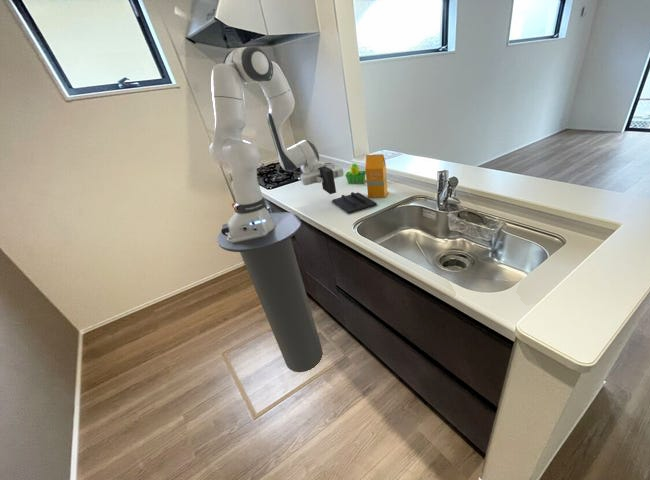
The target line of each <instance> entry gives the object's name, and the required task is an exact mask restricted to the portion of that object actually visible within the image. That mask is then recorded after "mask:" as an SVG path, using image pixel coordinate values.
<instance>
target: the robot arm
mask: <svg viewBox="0 0 650 480" xmlns="http://www.w3.org/2000/svg"><path fill="white" fill-rule="evenodd" d="M254 83H255V84H258V86H259V87H261V90H262V92H263V94H264V96H265V98H266V101H267V104H268V112H267V114H266V120H267V124H268V128H269V131H270V134H271V135H270V136H271V138H272V140H273V144H274V147H275V151H276V154H277V157H278V162H279V165H280V168H282V169H283V170H284V171H285V172H288V173H293V172H295V171H296V170H298V169H299V168H300V170H301V174H300V175H299V176H298V177H297V179H298V181H301V183H302V185H303V186H309V185H312V184H314V185H315V184H322V183H323V182H325V178H324V177H322V178H321V176H320V175H321V174H320V171H319V167H323V166H326V167H327V168H329V169H331V170H333V176H334V179H338V178H341V177H344V175H345V174H344V173H345V172H344V168H343V167H342V166H340V165H338V164H335V163H334V162H320V154H319V151H318V149H317V147H316V146H315V144H314V143H313V142H311V141H310V140H307V139H303V140H301V141H299V142H298V143H296V144H293V145H292V146H290V147H288V148H286V144H285V141H284V138H283V135H282V128H283V125H284V123H285V122H286V121H287V120H288V118H290V116H291V115H292V113H293V112H294V109H295V105H296V102H295V98H294V94H293V91H292V89H291V87H290V84H289V81H288V80H287V77H286V76H285V74H284V73H283V70H282V69H281V68H280V66H279V64H278V63H276V62H275V61H272V60H271V59H270V58H269V56H268V54H267V53H266V52H265V51H264V50H263V49H262V48H260V47H258V46H252V45H249V46H246V47H245V46H244V47H239V48H236V49H234V50H231V51H229V52H228V53H227V54H226V55H225V56H224V59H223V62H222V63H217V64H215V65H214V66H213V67H212V70H211V95H212V96H211V97H212V104H213V114H214V127H213V128H214V130H213V137H212V142H211V144H210V145H209V147H208V148H209V149H208V153H209V156H210V158H211V160H212V161H213V162H215V164H218V165H219V166H221V167H224V168H229V169H230V171H231V173H232V174H231V176H232V181H231V183H230V187H231V190H232V192H233V195H234V198H235V201H236V202H234V201H233V202H231V207H232V208H233V209H234V214H233V215H232V216H231V218H229V220H228V221H227V223H224V224H221V231H220V232H222V234H223V235H225V237H226V240H227V241H228V242H230V243H235V242H240V241H244V240H249V239H253V238H258V237H262V236H266V235H267V234H268V232H270V231H271V230H273V229H274V228H275V223H274V222H273V220H272V219H271V217H270V215H269V213H268V212H269V210H268V206H267V202H266V199H265V197H264V196H263V193H262V190H261V187H260V184H259V180H258V166H259V164H260V162H261V153H260V150H259V149H258V147H257V146H256V145H255V144H254V143H252V142H249V141H247V140H244V139H242V134H243V130H244V129H245V127H246V125H247V117H246V116H247V113H246V104H245V93H244V88H245V85H246V84H254ZM225 233H226V234H225Z"/></svg>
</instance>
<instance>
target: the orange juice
mask: <svg viewBox="0 0 650 480" xmlns="http://www.w3.org/2000/svg"><path fill="white" fill-rule="evenodd" d="M364 171H366V175H365V181H366V189H367V198H369V199H377V198H379V199H381V198H386V196H387V195H388V178H387V163H386V159H385V155H384V154H383V153H381V154H380V153H379V154H365V169H364Z"/></svg>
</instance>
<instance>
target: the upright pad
mask: <svg viewBox="0 0 650 480" xmlns="http://www.w3.org/2000/svg"><path fill="white" fill-rule="evenodd" d="M319 171H320V174H321V175H320V176H321V178H322V177H324V178H325V182H323V183H322V182H321V186H322V190H323V191H325V192H326V193H327V194H329V195H333V194H336V193H337V189H336V183H335V178H334V176H333V170H331V169H329V168H327V167H326V166H323V167H319Z"/></svg>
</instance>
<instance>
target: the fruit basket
mask: <svg viewBox="0 0 650 480" xmlns="http://www.w3.org/2000/svg"><path fill="white" fill-rule="evenodd" d="M344 175H345V177H346V180H347V183H348V184H364V183H365V182H366V171H365V170H360V166H358V165H357V164H356V163H352V164H351V165H350V168H349V171H347V172H346V174H344Z"/></svg>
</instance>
